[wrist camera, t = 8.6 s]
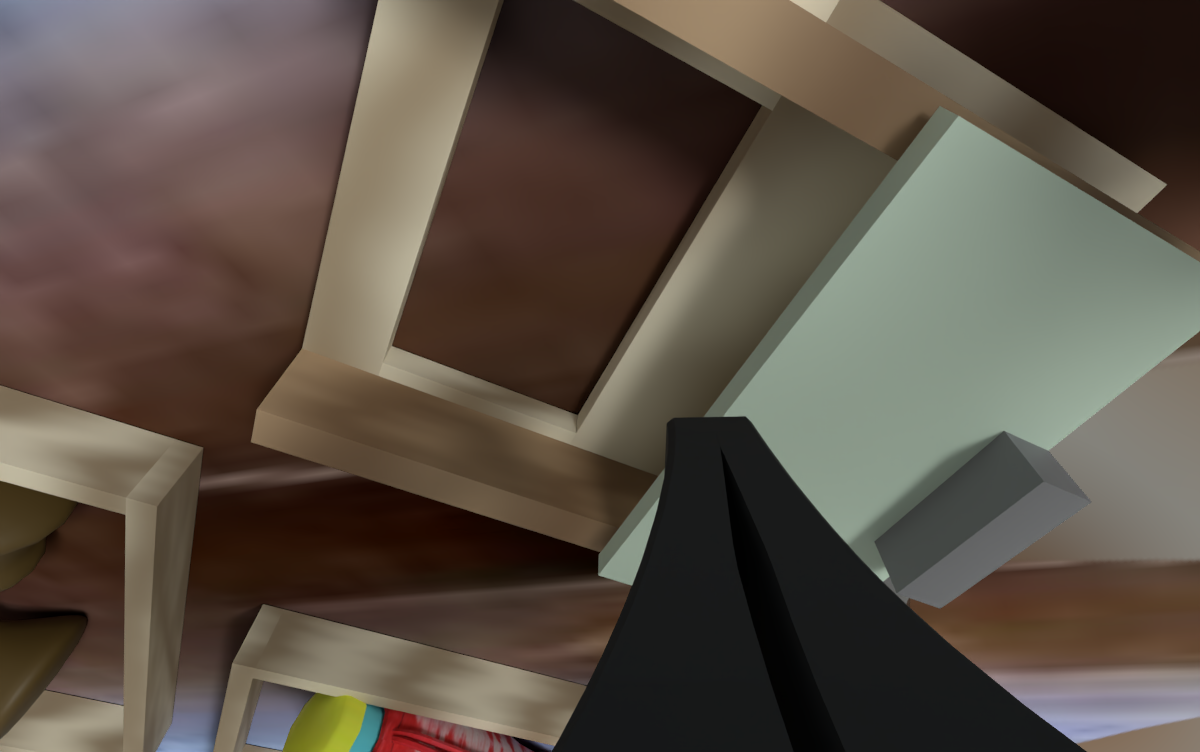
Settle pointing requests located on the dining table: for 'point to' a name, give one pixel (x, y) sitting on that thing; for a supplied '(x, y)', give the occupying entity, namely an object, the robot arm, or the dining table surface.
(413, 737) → the water bottle
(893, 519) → the slide cover
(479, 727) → the bottle frame
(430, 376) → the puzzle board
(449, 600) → the dining table surface
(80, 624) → the kendama
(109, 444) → the frame
